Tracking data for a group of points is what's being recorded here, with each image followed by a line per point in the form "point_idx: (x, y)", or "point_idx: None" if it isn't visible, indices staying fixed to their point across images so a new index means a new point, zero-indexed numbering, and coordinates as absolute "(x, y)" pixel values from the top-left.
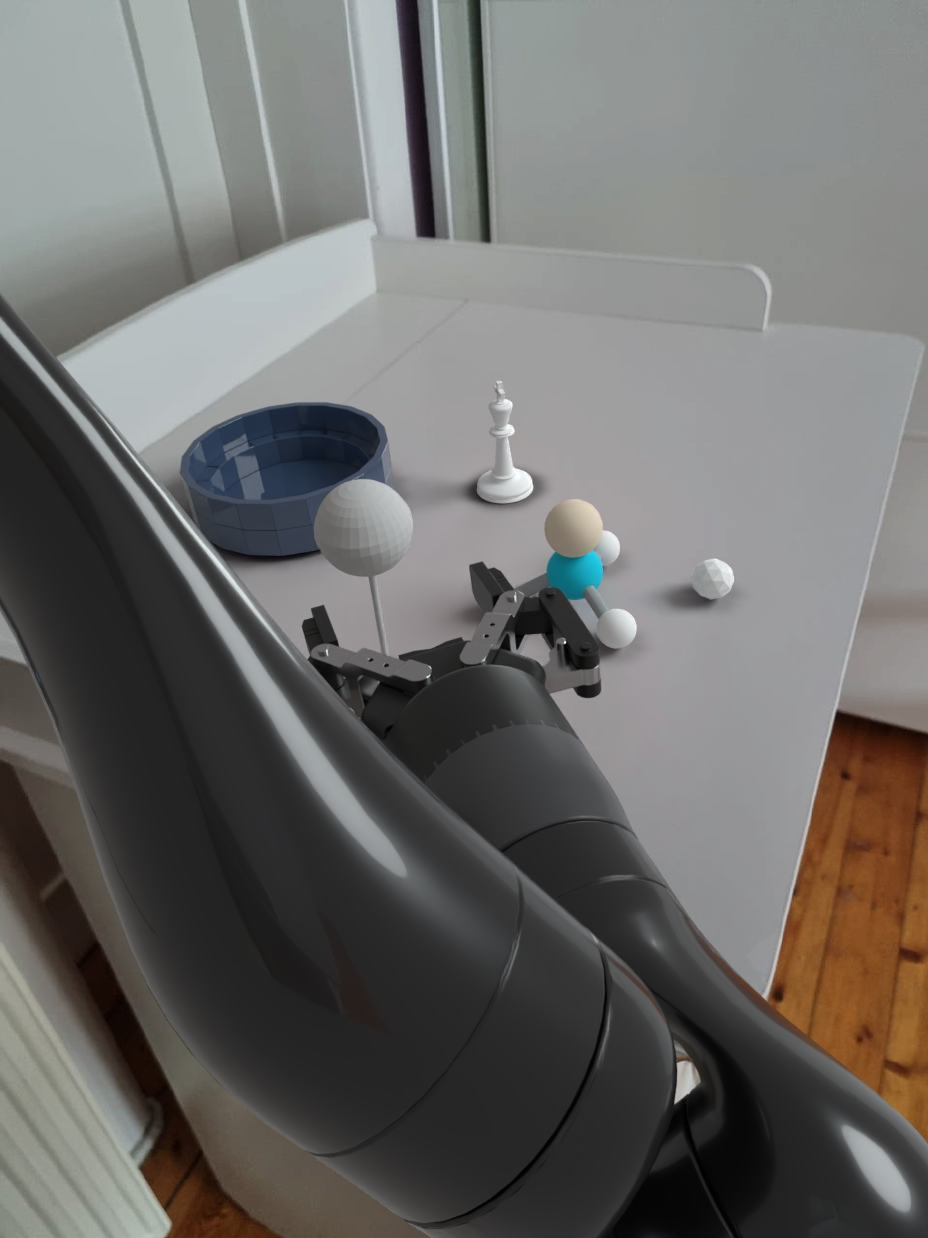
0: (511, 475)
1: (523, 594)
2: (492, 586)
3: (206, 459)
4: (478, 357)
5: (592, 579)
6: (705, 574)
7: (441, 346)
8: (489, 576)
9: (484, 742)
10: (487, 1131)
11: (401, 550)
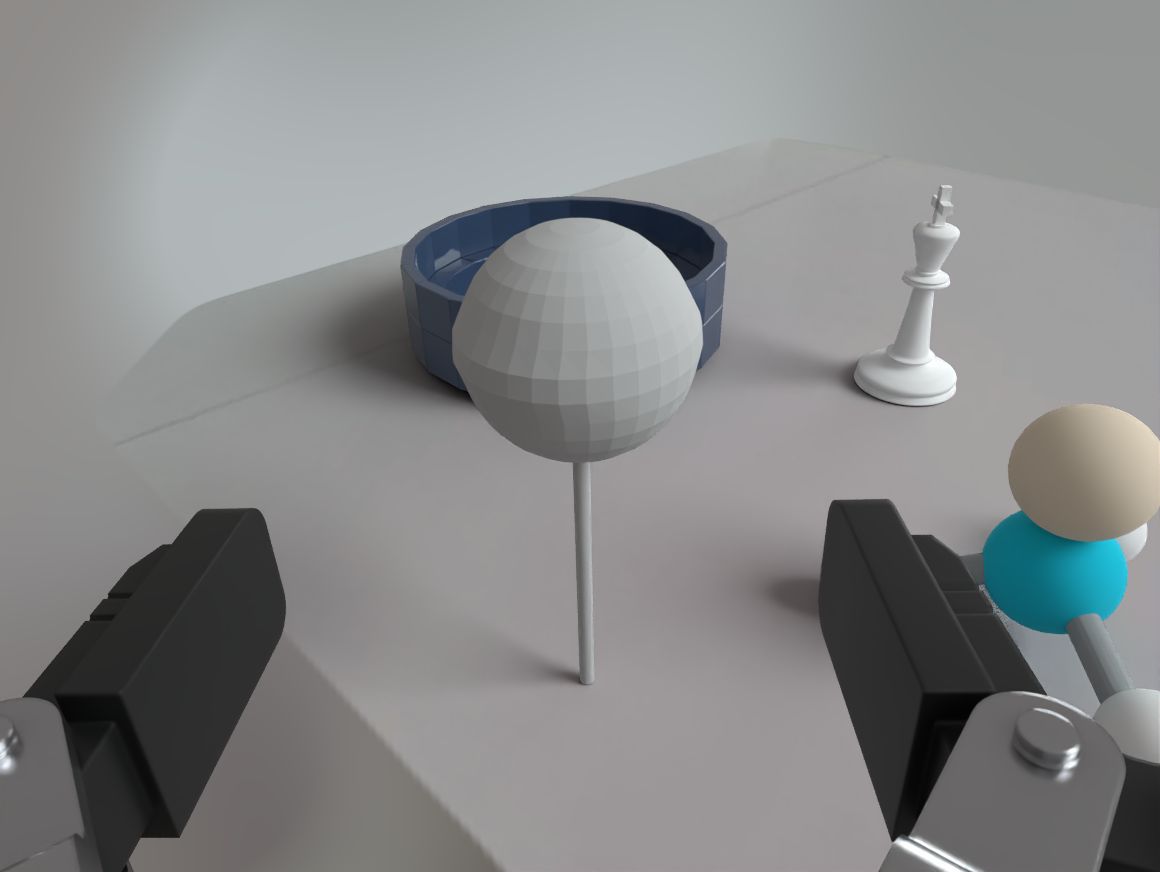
0: (922, 360)
1: None
2: (928, 632)
3: (461, 248)
4: (891, 212)
5: (1102, 600)
6: None
7: (841, 194)
8: (916, 575)
9: None
10: None
11: (648, 414)
